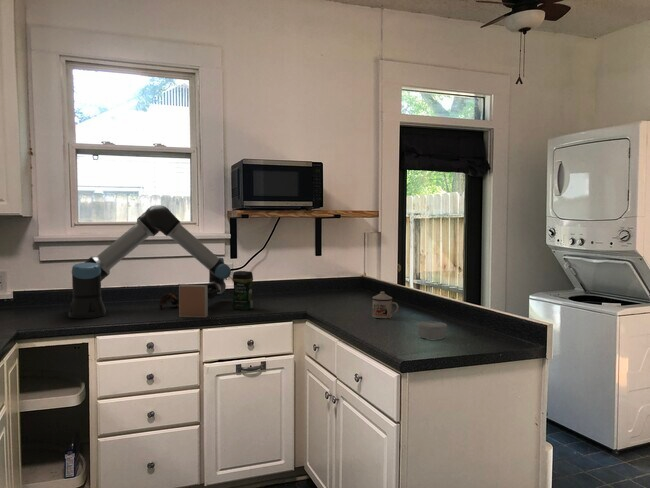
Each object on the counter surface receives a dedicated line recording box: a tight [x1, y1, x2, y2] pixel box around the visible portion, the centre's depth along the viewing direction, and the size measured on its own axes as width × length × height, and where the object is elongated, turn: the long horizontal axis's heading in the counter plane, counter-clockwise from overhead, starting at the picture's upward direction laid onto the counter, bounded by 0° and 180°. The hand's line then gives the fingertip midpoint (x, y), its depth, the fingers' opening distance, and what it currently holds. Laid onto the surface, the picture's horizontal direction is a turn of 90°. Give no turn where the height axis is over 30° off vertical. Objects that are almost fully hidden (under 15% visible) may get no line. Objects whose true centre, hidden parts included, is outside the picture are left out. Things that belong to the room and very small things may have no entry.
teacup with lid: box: [371, 291, 399, 319], centre depth 226 cm, size 12×9×12 cm
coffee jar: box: [231, 270, 254, 311], centre depth 247 cm, size 10×8×19 cm
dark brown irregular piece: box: [157, 292, 179, 309], centre depth 250 cm, size 12×10×8 cm
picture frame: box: [178, 284, 209, 318], centre depth 228 cm, size 12×3×14 cm, turn 87°
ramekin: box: [416, 320, 448, 339], centre depth 190 cm, size 11×11×5 cm
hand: (197, 297), depth 231 cm, fingers closed
